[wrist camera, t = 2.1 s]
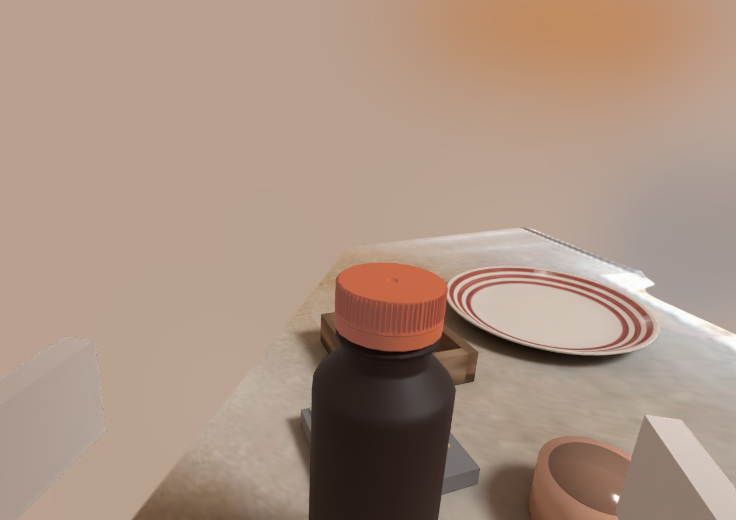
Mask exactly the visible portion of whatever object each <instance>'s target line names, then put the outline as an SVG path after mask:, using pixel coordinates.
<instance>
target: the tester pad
mask: <svg viewBox="0 0 736 520" xmlns="http://www.w3.org/2000/svg"><path fill="white" fill-rule="evenodd" d="M301 425H302V428H303V430H304V433H305V435H306V438H307V440H308V442H309V445H310V447H311V408H307V409H302V410H301ZM479 471H480V468H479V466H478V465H477V464H476V463H475V462H474V460H473V459H472V458H471V457H470V456H469V454H468V453H467V452H466V451H465V450H464V448H463V447H462V446H461V445H460V444H459V442H458V441H457V440H456V439H455V438H454V436H453V435H452V434H451V433H450V436H449V443H448V450H447V458H446V465H445V472H444V479H443V487H442V494H445V493H449V492H452V491H455V490H459V489H462V488H465V487H469V486H472V485H475V484H477V483H478V477H479ZM442 494H441V495H442Z"/></svg>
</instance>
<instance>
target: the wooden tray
mask: <svg viewBox="0 0 736 520" xmlns="http://www.w3.org/2000/svg"><path fill="white" fill-rule="evenodd" d="M335 335H336V328H335V312H334V313H326V314H321V342H322V344H323V345H324V347H325V349H326V350H327V352H328V353H329V354H330V353H331V352H333V351H334V350H335V349H336V348H338V347H339V346H340V345H341V344H340V342H339V341H338V339H337V338H336V336H335ZM433 355H434V356H435V357H436V358H437V359H438V360H439V361H440V362H441V364H442V365H443V366H444V367H445V368H446V369H447V370H448V372H449V373H450V376H451V378H452V381H453V383H454V385H458V384H463V383H468V382H473V381H474V377H475V371H476V364H477V357H478V351H476V350H475V349H474V348H473V347H472V346H470V345H469V344H468V343H467V342H466V341H465V340H463V339H462V338H461V337H460V336H459V335H457V334H456V333H455V332H454V331H453V330H451V329H450V328H449V327H448V326H447V325H445V324H443V331H442V335H441V339H440V343H439V347H438V348H436V349H435V350H434V351H433Z"/></svg>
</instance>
